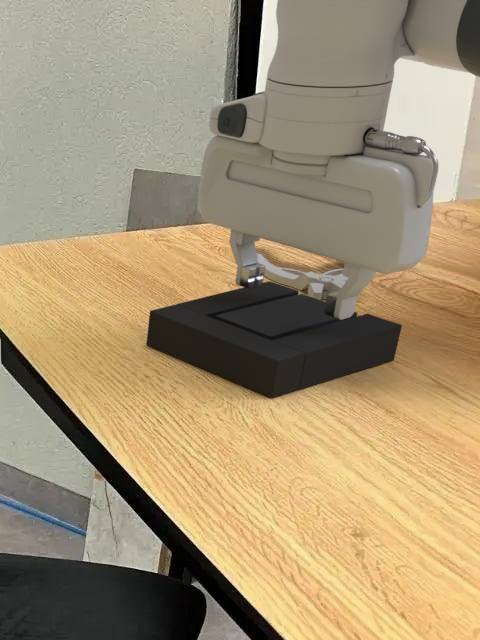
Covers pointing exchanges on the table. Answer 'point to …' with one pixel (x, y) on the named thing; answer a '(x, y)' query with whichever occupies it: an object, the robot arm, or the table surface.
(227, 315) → the black block
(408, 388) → the table surface
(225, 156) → the robot arm
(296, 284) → the pliers
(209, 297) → the black u-shaped frame
